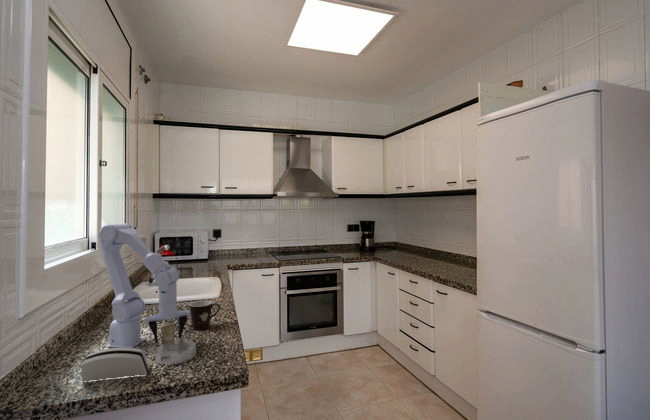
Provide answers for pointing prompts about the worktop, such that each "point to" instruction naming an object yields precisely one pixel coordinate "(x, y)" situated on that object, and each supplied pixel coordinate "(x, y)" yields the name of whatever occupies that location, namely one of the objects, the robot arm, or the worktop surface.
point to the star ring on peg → (175, 352)
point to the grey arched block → (114, 364)
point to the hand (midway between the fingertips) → (168, 339)
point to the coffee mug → (201, 314)
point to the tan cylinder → (167, 333)
